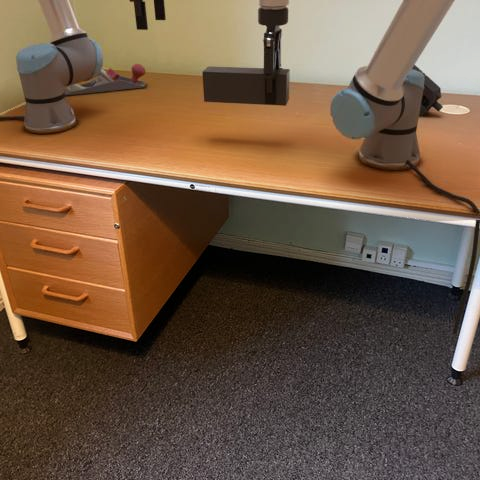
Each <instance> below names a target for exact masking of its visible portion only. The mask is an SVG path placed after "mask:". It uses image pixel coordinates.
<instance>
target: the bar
mask: <svg viewBox="0 0 480 480" xmlns="http://www.w3.org/2000/svg"><path fill="white" fill-rule="evenodd" d="M290 71H291V70H290V68H283V69H275V79H276V101H275V104H265V79H262V77H263V75H264V67H241V66H240V67H237V66H208V65H207V67H206V68H204V69H203V70H202V72H201V73H202V85H203V87H202V89H203V90H202V91H203V102H204V103H221V104H243V105H262V106H280V107H281V106H283V107H285V106H287V104H288V102H289V100H290V79H291V78H290V77H291V76H290V73H291V72H290Z"/></svg>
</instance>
